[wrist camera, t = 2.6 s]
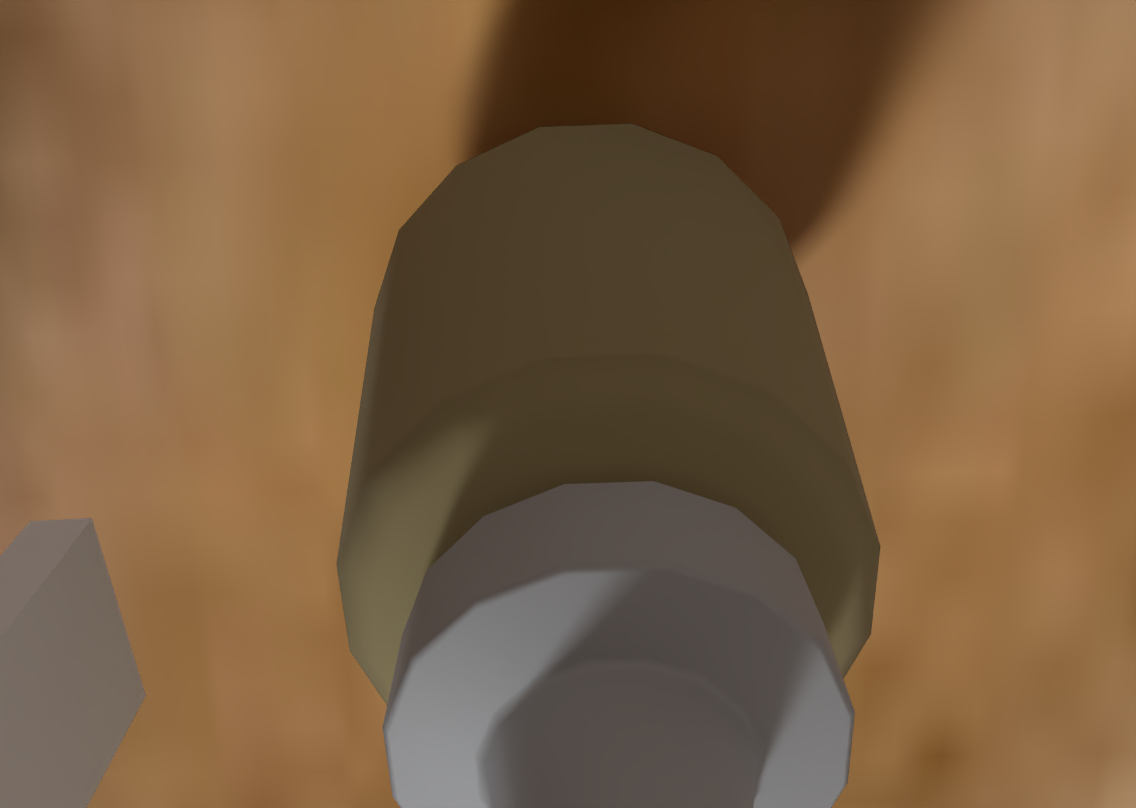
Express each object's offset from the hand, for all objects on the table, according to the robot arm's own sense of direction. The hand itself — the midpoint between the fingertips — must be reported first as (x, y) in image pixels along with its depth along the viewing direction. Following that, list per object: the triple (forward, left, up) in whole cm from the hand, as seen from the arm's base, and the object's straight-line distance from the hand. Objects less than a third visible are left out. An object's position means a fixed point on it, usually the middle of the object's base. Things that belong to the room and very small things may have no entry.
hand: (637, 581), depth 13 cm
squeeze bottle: (0, 0, -12) cm, 12 cm away
